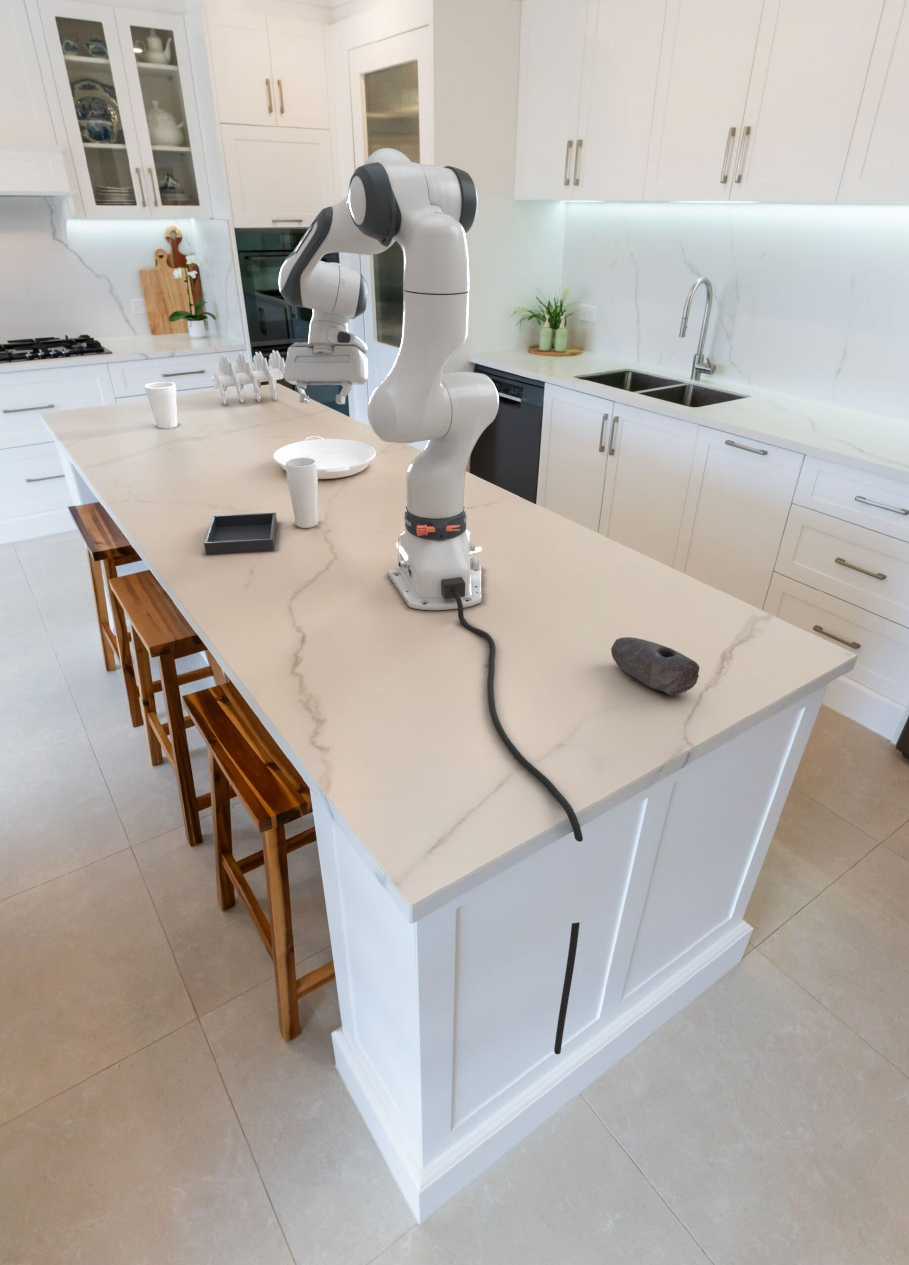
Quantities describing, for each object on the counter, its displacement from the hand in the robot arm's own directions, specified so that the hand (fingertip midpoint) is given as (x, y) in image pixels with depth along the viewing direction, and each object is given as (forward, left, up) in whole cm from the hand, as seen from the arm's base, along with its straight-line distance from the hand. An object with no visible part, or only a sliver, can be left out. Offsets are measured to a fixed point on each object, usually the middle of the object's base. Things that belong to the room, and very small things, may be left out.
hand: (321, 403), depth 166 cm
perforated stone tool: (-81, -48, -26) cm, 98 cm away
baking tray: (-14, +20, -26) cm, 35 cm away
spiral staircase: (+114, +27, -26) cm, 120 cm away
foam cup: (+84, +52, -26) cm, 102 cm away
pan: (+34, +1, -26) cm, 43 cm away
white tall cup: (-8, +6, -26) cm, 28 cm away
